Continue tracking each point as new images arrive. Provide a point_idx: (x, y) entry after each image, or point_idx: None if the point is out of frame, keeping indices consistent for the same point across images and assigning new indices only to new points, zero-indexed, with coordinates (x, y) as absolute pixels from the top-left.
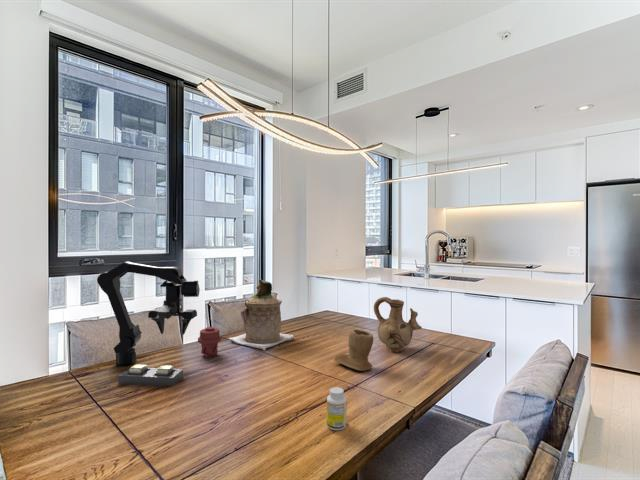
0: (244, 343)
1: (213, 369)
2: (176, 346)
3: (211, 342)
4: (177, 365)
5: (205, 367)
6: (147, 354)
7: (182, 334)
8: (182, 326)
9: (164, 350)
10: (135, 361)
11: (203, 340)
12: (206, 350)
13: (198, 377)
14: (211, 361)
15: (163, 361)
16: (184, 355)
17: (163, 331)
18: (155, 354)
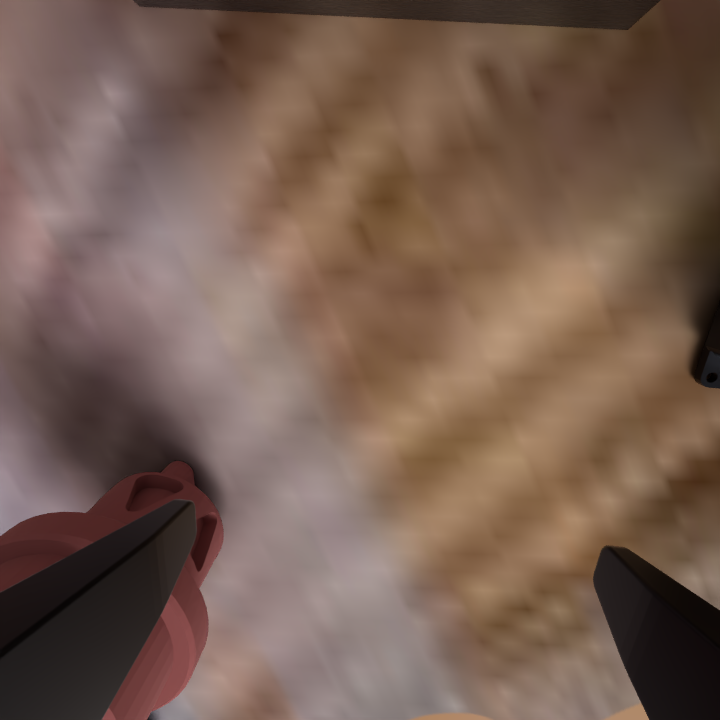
0: None
1: (7, 232)
2: (490, 671)
3: (15, 526)
4: (324, 310)
5: (88, 272)
6: (657, 535)
7: (189, 501)
8: (17, 631)
9: (550, 606)
10: (711, 341)
11: (78, 544)
12: (150, 503)
13: (28, 42)
14: (107, 394)
15: (472, 393)
16: (359, 510)
17: (609, 619)
18: (592, 533)
